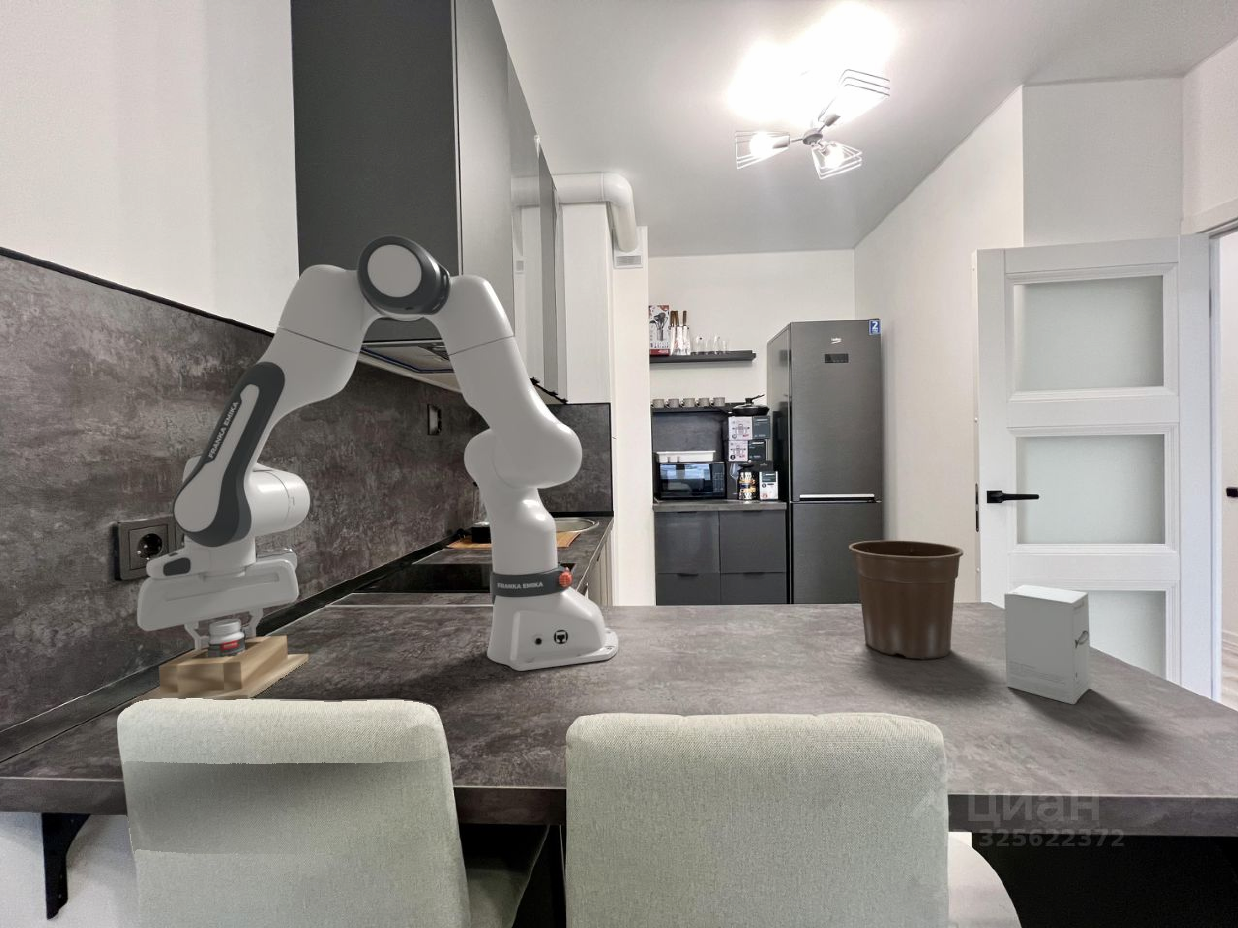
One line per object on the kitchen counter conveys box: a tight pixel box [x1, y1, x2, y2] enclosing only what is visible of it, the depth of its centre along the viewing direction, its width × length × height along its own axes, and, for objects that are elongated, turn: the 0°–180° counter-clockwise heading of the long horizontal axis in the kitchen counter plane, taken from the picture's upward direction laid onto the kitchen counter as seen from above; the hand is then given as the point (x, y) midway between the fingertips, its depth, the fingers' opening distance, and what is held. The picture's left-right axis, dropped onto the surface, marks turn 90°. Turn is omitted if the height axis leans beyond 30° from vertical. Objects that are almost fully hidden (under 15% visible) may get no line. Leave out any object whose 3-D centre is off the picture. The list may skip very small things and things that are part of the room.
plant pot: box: [848, 540, 964, 660], centre depth 87 cm, size 16×16×16 cm
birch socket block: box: [131, 635, 309, 705], centre depth 84 cm, size 16×16×5 cm
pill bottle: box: [208, 618, 245, 658], centre depth 84 cm, size 5×5×8 cm
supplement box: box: [1003, 584, 1092, 705], centre depth 70 cm, size 7×7×13 cm
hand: (226, 643), depth 84 cm, fingers closed on pill bottle, 5 cm apart
